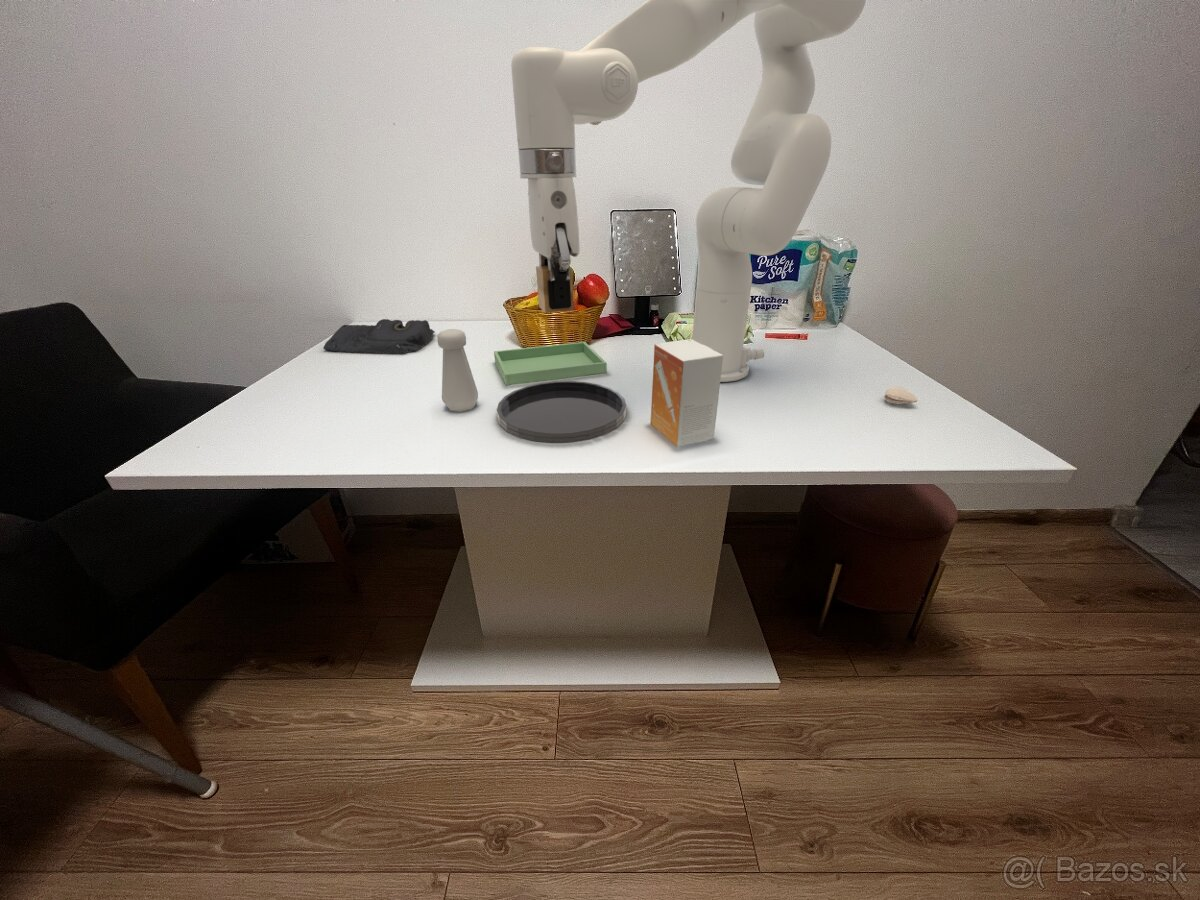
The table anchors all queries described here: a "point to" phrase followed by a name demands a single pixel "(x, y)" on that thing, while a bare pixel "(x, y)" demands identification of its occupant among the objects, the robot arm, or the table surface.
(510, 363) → the tray
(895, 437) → the table surface
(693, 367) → the small box
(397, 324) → the dark crumpled cloth
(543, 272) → the block
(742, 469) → the table surface
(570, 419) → the pan
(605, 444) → the table surface
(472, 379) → the salt shaker
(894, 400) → the beige pistachio shell
